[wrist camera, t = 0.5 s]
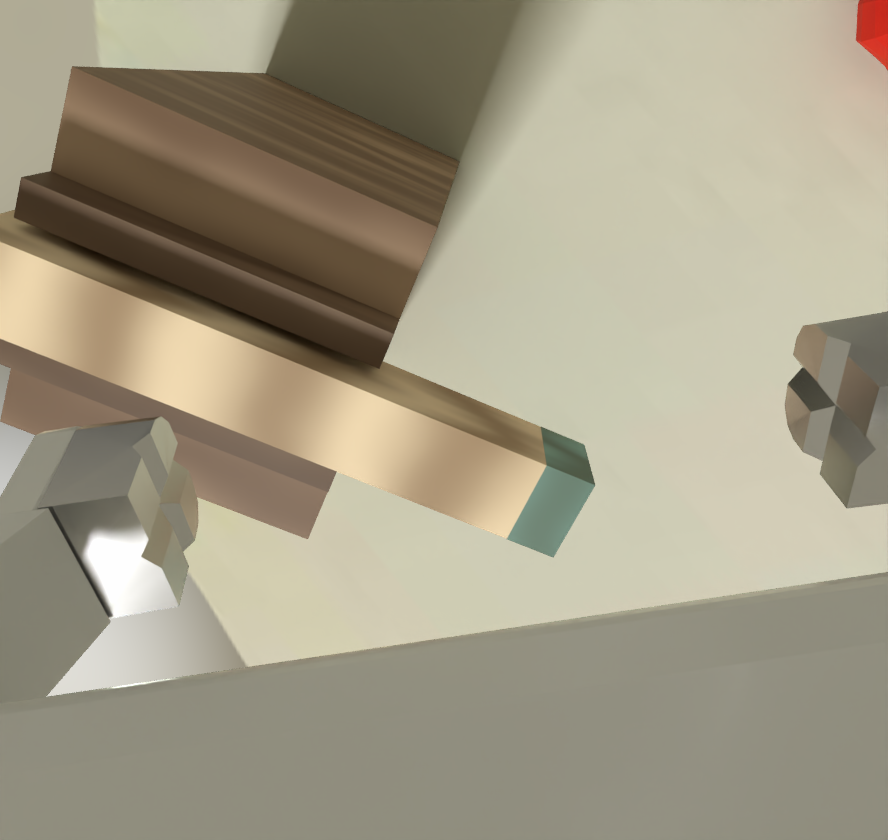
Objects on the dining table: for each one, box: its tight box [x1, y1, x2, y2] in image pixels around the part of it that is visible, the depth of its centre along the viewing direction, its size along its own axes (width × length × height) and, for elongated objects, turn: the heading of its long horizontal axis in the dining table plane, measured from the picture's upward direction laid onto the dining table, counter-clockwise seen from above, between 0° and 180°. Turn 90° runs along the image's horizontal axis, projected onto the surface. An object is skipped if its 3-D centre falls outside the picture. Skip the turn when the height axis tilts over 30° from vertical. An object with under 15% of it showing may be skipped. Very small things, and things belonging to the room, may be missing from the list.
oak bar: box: [0, 210, 595, 557], centre depth 30 cm, size 24×4×4 cm, turn 67°
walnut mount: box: [0, 66, 459, 539], centre depth 42 cm, size 15×14×28 cm
